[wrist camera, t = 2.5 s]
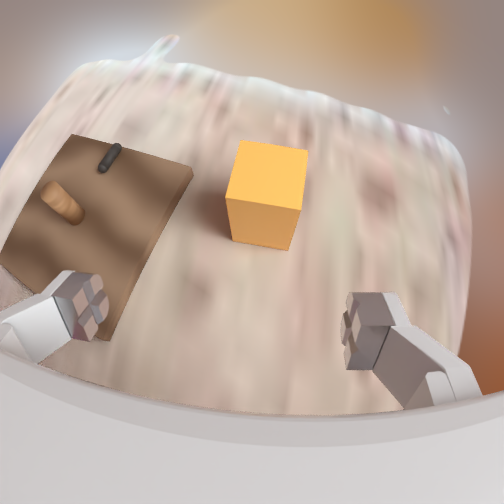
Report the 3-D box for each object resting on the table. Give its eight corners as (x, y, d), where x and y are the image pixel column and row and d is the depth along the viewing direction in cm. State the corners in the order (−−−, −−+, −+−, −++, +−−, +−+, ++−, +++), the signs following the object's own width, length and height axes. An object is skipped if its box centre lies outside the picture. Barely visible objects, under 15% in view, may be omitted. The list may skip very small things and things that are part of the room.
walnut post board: (109, 341, 24) (67, 334, 18) (4, 264, 26) (-34, 244, 20) (193, 175, 29) (180, 130, 23) (76, 141, 32) (52, 105, 25)
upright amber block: (288, 250, 27) (301, 210, 19) (232, 241, 27) (225, 197, 20) (295, 201, 28) (308, 150, 21) (243, 193, 29) (240, 140, 21)
